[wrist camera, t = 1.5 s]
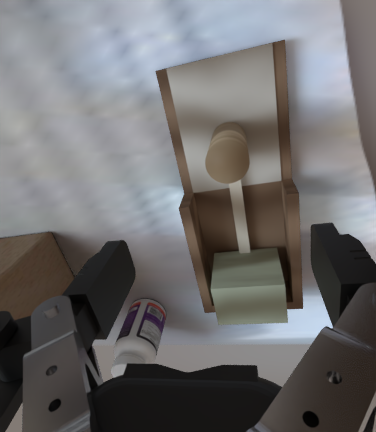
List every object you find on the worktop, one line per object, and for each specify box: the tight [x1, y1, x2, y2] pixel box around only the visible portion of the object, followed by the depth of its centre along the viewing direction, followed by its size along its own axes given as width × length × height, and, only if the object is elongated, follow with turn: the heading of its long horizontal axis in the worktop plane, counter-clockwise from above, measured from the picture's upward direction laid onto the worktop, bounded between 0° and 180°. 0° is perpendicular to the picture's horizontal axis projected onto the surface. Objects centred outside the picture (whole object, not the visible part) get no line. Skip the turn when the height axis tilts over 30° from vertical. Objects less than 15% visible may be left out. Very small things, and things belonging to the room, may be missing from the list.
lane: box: [156, 40, 303, 313], centre depth 29 cm, size 26×11×4 cm, turn 12°
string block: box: [205, 122, 288, 325], centre depth 27 cm, size 19×7×7 cm, turn 12°
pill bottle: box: [111, 299, 166, 378], centre depth 37 cm, size 5×5×10 cm
